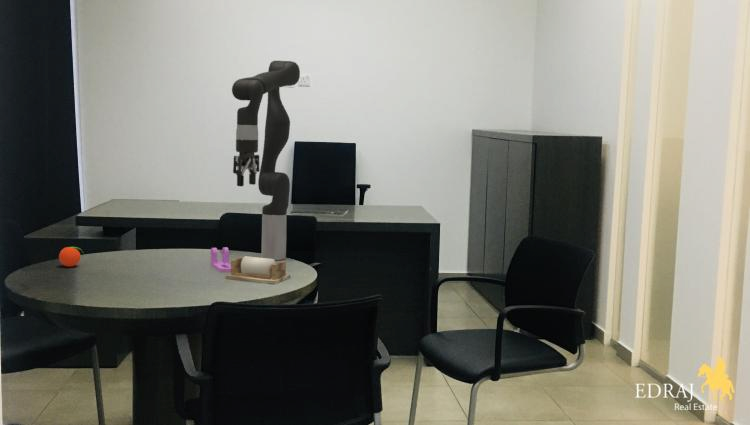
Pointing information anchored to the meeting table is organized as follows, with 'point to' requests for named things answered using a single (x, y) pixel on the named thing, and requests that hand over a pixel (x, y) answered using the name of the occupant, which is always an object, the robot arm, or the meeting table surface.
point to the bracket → (223, 265)
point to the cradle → (277, 275)
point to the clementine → (69, 256)
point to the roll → (257, 266)
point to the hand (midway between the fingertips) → (246, 185)
